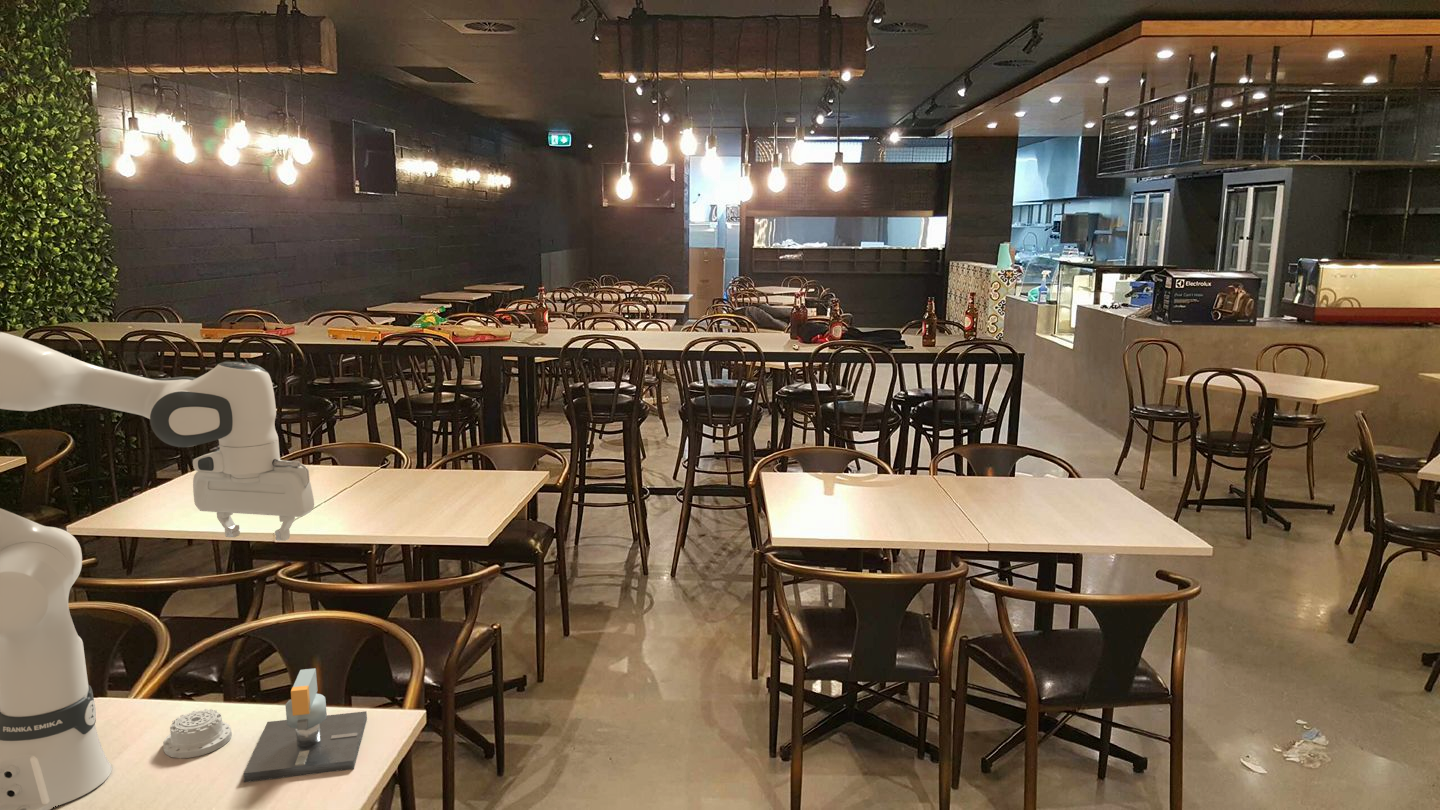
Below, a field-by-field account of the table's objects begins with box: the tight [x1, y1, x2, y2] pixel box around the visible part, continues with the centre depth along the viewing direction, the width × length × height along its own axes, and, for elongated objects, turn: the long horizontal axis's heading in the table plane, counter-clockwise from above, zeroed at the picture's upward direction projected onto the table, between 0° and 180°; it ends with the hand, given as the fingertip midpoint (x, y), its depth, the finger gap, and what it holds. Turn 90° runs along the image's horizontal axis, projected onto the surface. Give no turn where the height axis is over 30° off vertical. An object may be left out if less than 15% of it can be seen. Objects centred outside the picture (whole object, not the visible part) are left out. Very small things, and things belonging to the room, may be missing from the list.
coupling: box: [285, 668, 327, 730], centre depth 152 cm, size 8×6×7 cm
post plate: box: [243, 710, 368, 783], centre depth 154 cm, size 16×16×5 cm
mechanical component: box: [162, 708, 233, 759], centre depth 156 cm, size 10×4×10 cm
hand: (257, 538), depth 158 cm, fingers open, 8 cm apart
